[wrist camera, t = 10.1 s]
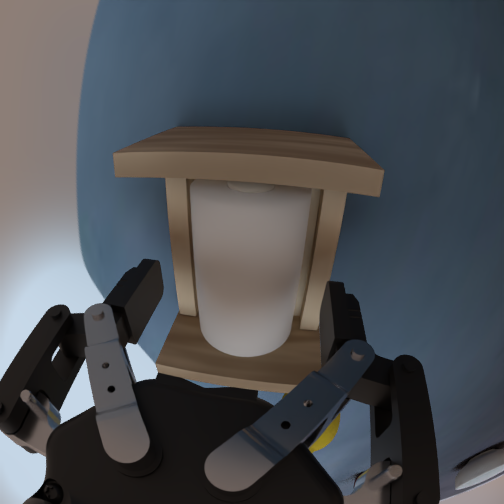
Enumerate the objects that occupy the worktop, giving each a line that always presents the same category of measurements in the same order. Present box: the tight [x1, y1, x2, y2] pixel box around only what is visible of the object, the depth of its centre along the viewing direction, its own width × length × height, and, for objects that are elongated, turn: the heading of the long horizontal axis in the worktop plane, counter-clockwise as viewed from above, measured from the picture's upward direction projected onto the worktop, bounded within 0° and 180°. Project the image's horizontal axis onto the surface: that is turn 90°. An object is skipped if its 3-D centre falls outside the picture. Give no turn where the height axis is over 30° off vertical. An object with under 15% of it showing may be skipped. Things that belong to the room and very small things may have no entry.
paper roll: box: [190, 179, 312, 357], centre depth 16 cm, size 9×6×6 cm
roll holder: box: [113, 127, 385, 393], centre depth 16 cm, size 13×10×7 cm
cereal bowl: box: [455, 449, 504, 490], centre depth 39 cm, size 17×17×7 cm
